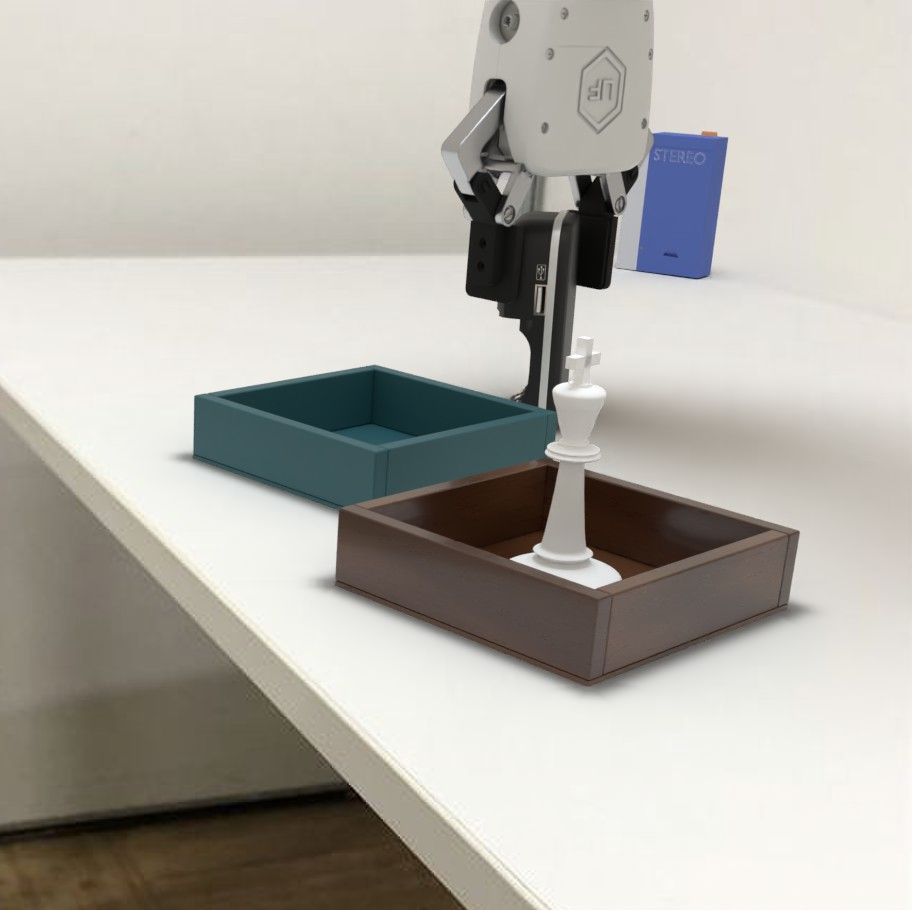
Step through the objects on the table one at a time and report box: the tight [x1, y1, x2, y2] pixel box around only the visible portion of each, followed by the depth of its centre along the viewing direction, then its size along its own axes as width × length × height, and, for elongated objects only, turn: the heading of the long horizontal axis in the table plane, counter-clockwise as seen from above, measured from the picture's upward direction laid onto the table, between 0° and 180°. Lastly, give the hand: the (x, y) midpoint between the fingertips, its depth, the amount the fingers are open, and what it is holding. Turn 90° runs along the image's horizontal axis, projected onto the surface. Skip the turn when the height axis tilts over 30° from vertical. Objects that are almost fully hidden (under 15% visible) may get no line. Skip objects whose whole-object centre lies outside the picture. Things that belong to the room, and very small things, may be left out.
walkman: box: [615, 130, 729, 279], centre depth 141 cm, size 8×3×12 cm, turn 53°
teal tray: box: [192, 364, 558, 511], centre depth 79 cm, size 13×13×4 cm
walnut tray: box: [334, 458, 801, 687], centre depth 63 cm, size 13×13×4 cm
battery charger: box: [496, 209, 581, 431], centre depth 89 cm, size 7×4×11 cm, turn 166°
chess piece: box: [510, 335, 622, 589], centre depth 62 cm, size 5×5×10 cm
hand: (538, 290), depth 89 cm, fingers closed on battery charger, 7 cm apart
